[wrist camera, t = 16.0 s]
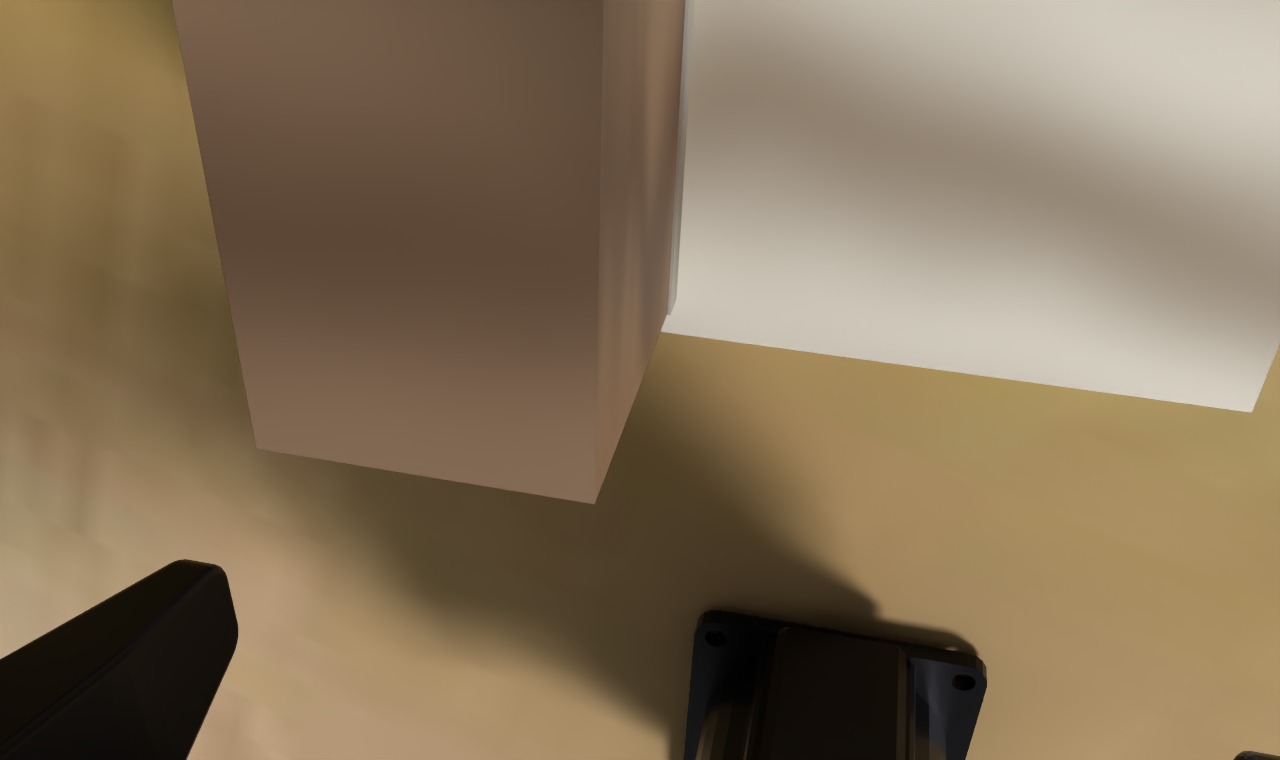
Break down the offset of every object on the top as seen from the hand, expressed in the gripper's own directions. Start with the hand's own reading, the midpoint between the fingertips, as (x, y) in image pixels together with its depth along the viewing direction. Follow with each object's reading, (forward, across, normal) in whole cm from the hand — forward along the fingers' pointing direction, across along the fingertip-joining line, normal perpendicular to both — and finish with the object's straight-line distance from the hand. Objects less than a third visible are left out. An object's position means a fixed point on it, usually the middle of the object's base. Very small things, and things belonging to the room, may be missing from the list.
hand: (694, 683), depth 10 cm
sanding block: (+11, +4, -1) cm, 12 cm away
